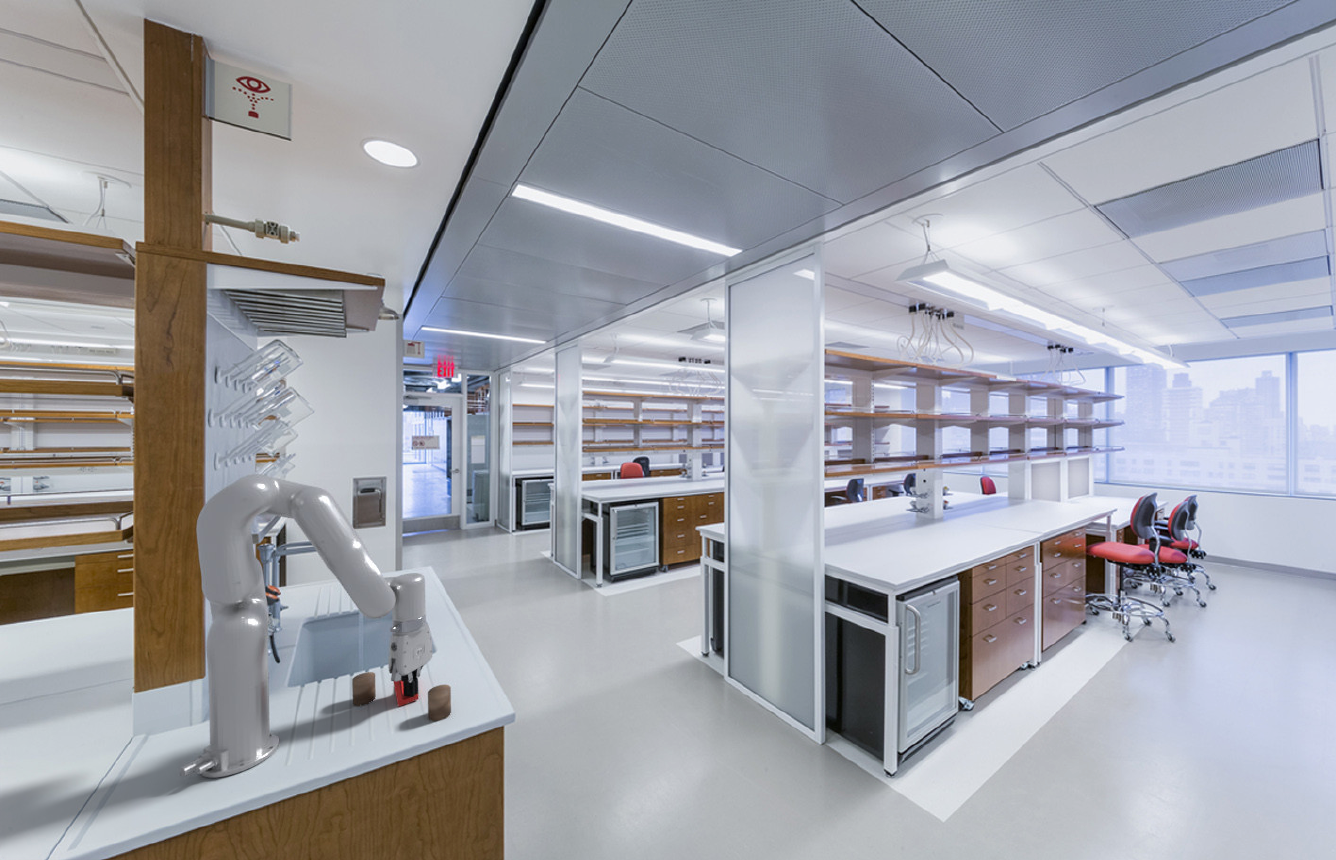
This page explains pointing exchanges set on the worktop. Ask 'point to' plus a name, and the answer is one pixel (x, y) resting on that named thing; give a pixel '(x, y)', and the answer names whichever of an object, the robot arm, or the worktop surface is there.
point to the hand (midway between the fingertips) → (410, 694)
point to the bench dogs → (436, 696)
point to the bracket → (400, 696)
